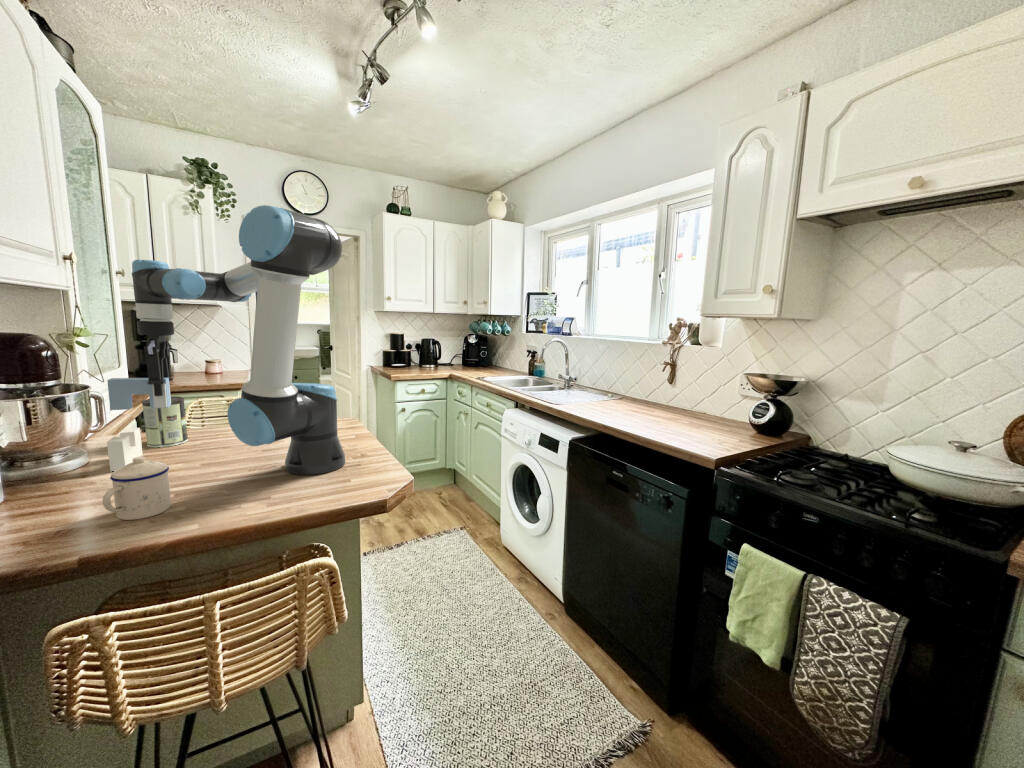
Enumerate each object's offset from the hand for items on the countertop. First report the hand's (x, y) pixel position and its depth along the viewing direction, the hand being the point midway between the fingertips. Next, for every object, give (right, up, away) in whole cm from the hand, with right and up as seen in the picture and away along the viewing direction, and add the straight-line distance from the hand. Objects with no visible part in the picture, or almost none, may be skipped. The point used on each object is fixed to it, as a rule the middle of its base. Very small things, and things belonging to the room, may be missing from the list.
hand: (162, 405), depth 116 cm
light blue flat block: (-4, 0, -2) cm, 5 cm away
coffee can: (-13, -13, +17) cm, 25 cm away
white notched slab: (-9, -16, -1) cm, 18 cm away
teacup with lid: (+20, -21, -30) cm, 41 cm away
